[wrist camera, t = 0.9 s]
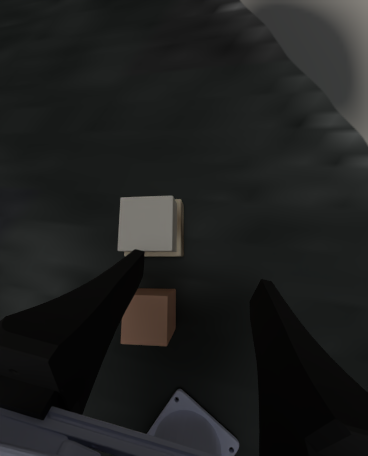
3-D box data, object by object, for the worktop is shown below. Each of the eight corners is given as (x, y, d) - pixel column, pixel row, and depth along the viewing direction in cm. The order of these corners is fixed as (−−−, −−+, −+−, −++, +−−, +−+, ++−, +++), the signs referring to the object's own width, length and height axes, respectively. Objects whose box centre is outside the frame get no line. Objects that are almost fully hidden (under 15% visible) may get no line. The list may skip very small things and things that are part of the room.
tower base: (183, 256, 25) (180, 256, 22) (133, 256, 26) (124, 256, 23) (184, 206, 26) (180, 199, 23) (135, 207, 27) (126, 201, 24)
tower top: (176, 251, 22) (172, 250, 19) (129, 252, 23) (117, 250, 20) (177, 203, 23) (172, 195, 20) (131, 205, 24) (120, 197, 21)
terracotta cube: (175, 328, 24) (166, 346, 19) (138, 326, 24) (120, 343, 19) (175, 288, 24) (167, 296, 19) (139, 288, 25) (123, 294, 20)
